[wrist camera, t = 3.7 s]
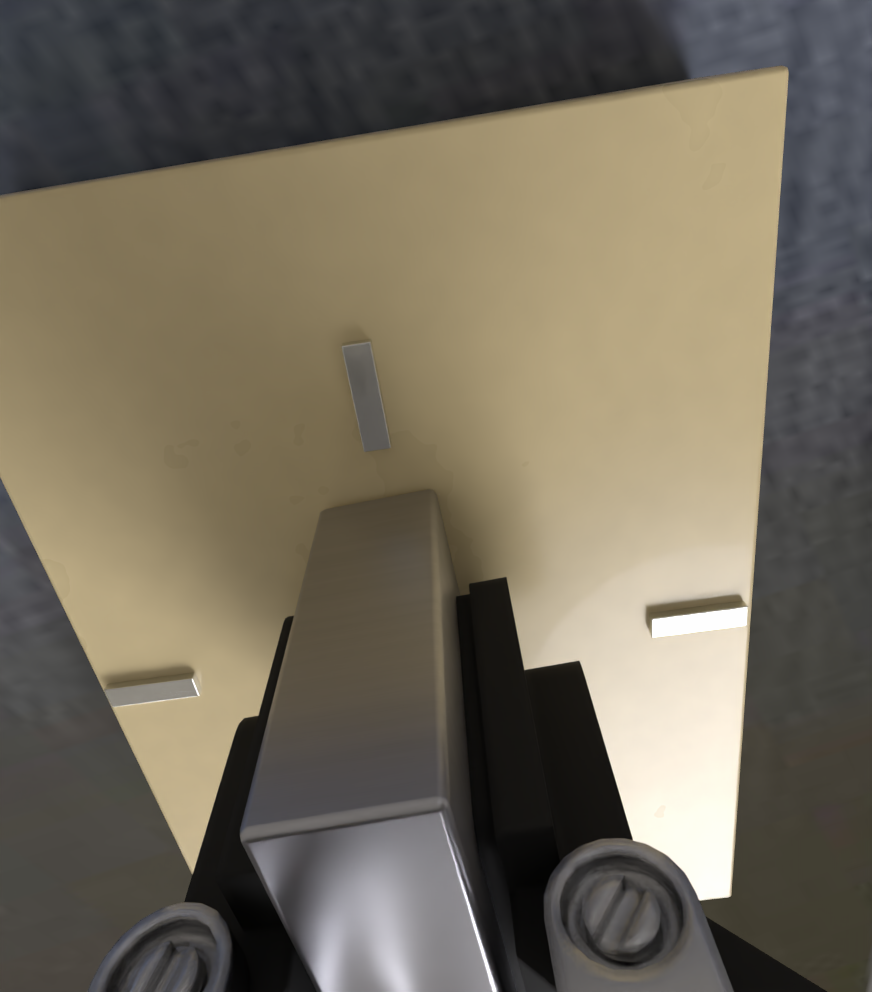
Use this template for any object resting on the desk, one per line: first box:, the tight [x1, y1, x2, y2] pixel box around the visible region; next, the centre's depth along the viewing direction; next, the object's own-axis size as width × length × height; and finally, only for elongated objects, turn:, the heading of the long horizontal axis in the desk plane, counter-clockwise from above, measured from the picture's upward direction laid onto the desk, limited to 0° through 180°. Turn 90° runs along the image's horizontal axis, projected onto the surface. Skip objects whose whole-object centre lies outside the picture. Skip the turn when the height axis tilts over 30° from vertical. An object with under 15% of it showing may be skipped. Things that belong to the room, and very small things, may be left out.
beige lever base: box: [0, 66, 789, 900], centre depth 12 cm, size 14×10×3 cm
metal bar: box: [240, 489, 517, 992], centre depth 9 cm, size 6×2×5 cm, turn 12°
